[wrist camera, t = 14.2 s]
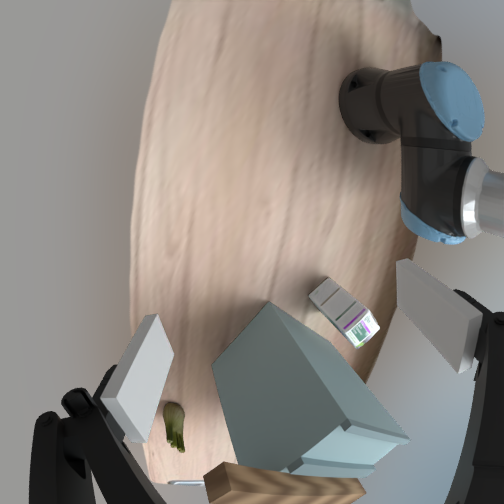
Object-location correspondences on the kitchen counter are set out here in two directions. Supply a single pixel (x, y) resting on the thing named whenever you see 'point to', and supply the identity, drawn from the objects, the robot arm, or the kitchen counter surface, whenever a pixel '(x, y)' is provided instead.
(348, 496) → the walnut slat
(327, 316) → the syrup box
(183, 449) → the fennel bulb
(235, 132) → the kitchen counter surface
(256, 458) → the grey-blue storage bin
